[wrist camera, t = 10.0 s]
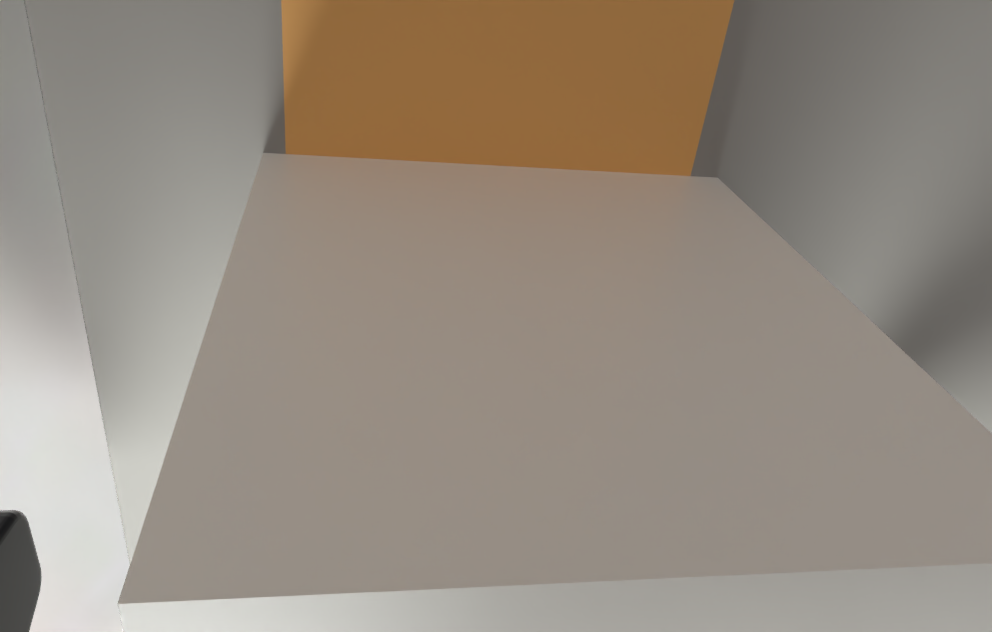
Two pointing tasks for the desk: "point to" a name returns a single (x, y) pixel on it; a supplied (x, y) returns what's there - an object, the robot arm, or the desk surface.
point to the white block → (550, 422)
